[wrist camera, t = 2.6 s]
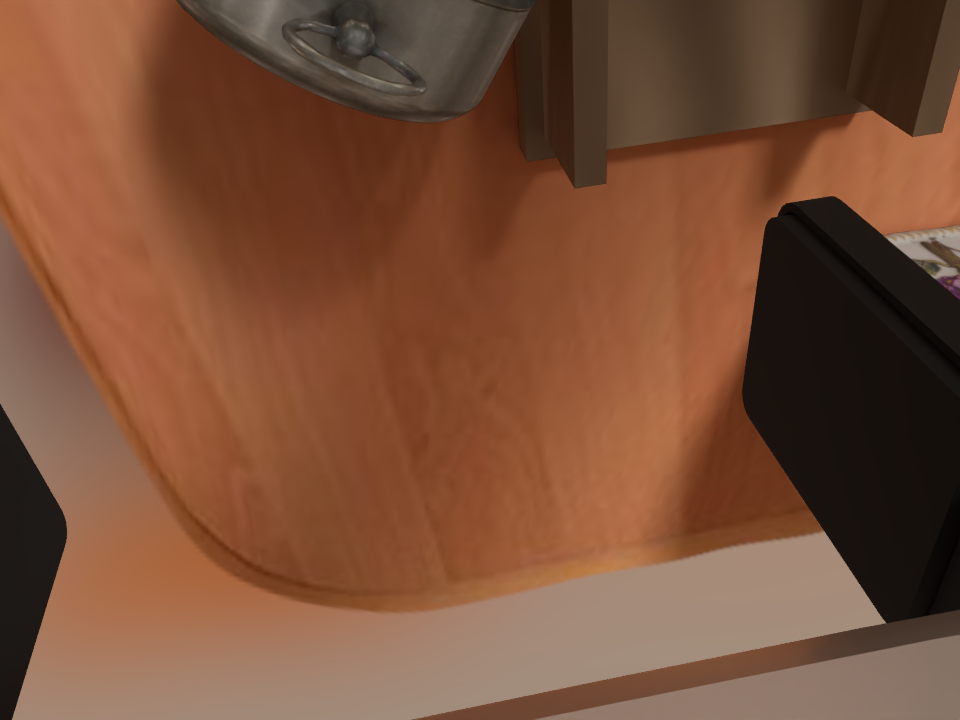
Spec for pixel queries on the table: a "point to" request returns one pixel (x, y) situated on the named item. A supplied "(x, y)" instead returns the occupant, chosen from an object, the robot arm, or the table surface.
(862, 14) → the wooden tray
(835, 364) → the robot arm
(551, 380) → the table surface
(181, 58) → the table surface
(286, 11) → the alarm clock
